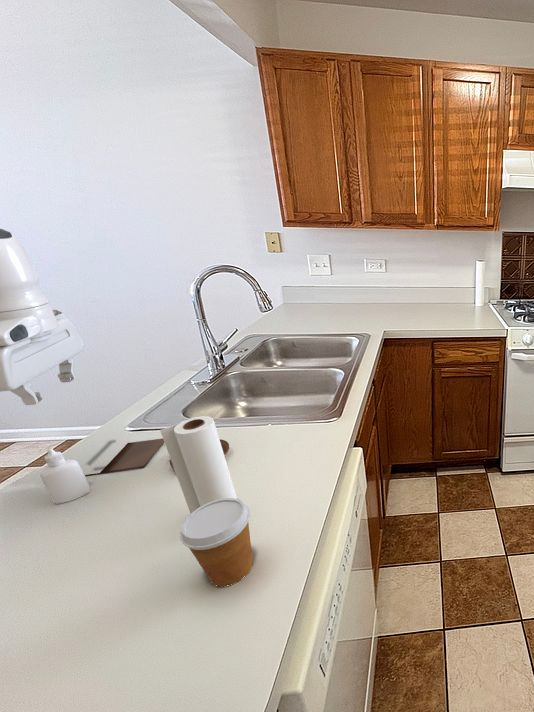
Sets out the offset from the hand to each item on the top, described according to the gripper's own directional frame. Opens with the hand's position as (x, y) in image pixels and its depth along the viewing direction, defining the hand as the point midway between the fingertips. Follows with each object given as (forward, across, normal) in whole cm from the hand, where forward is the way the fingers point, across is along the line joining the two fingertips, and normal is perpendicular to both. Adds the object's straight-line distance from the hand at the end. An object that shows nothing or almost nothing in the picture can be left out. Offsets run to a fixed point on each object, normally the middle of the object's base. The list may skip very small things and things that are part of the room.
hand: (52, 391), depth 76 cm
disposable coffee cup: (+24, +29, +33) cm, 50 cm away
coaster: (+25, -13, -1) cm, 28 cm away
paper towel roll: (+25, +14, +27) cm, 39 cm away
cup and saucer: (+25, -7, +17) cm, 31 cm away
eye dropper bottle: (+25, 0, -5) cm, 25 cm away
